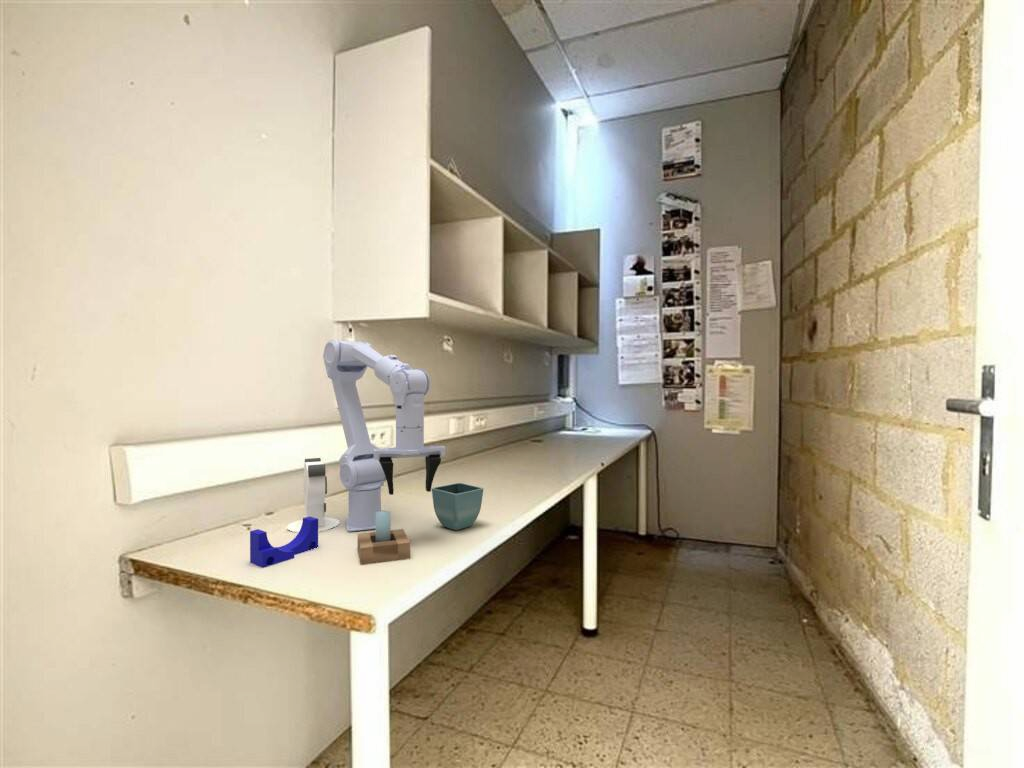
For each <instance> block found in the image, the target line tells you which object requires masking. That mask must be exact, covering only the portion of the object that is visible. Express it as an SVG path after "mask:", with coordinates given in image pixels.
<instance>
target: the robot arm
mask: <svg viewBox="0 0 1024 768" xmlns="http://www.w3.org/2000/svg"><path fill="white" fill-rule="evenodd" d="M322 359H323V362H324V363H323V364H324V367H325V371H326V375H327V378H329V379H330V380H331V383H332V387H333V392H334V396H335V399H336V405H337V407H338V414H339V417H340V420H341V425H342V429H343V433H344V438H345V440H346V441H345V442H346V446H347V449H346V450H345V452H344V453H343V454H342V455H341V456H340V458H339V460H338V461H339V480H340V481H341V484H342V485H343V486H344V487H345V489H346V490H348V492H347V493H348V496H347V497H348V498H347V499H348V502H347V503H348V517H347V518H346V519H345V524H346V531H347V532H356V531H368V530H376V512H378V511H382V487H384V483H385V482H386V484H387V488H388V494H389V495H390V496H391V495H393V496H394V492H395V491H394V462H393V459H401V458H402V459H404V458H421V457H422V458H423V457H425V458H424V460H425V491H426V492H428V493H429V492H430V493H432V486H433V481H434V478H435V475H436V472H437V470H438V468H439V466H440V464H441V462H442V457H445V456H446V446H444V445H425V439H424V438H425V421H424V420H425V411H424V410H425V396H426V395H427V394H428V393H429V391H430V390H429V389H430V388H431V387H430V385H431V380H430V377H429V376H430V375H428V373H427V372H426V371H425V370H424V369H423V368H416V369H413V368H412V367H411V365H410V364H409V363H405V362H402V361H400V360H399V359H398V356H397V355H395V354H389V355H385V356H383V354H380V353H379V352H378V351H376V349H374V348H373V345H372V343H368V342H367V341H349V340H336V339H329V340H327V343H326V344H325V346H324V350H323V355H322ZM368 368H370V369H372V370H373V372H374V376H375V377H376V378H377V379H378V380H380V381H381V382H382V383H384V384H385V385H387V386H389V389H390V391H391V394H392V398H393V399H392V403H393V404H394V405H395V447H385V448H379V447H378V446H376V445H375V444H373V443H372V442H371V438H370V436H369V431H368V427H367V423H366V420H365V419H366V418H365V415H364V412H363V407H362V405H361V399H360V396H359V392H358V388H357V385H356V383H357V381H358V380H361V379H362V378H363V376H364V375H365V373H366V371H367V369H368Z"/></svg>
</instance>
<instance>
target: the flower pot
mask: <svg viewBox="0 0 1024 768" xmlns="http://www.w3.org/2000/svg"><path fill="white" fill-rule="evenodd" d="M484 488H485V487H480V486H476V485H473V484H468V483H464V482H463V483H462V482H455V483H451V484H446V485H442V486H436V487H431V493H432V494H431V495H432V504H433V509H434V513H435V515H436V518H437V520H438V522H439V524H440V525H441V527H445V528H448V529H450V530H454V531H459V530H462V529H466V528H470V527H472V526H473V525H474V523H475V522H476V520H477V519H478V518H479V517H478V516H479V514H480V512H481V509H482V504H483V503H482V502H483V496H484Z"/></svg>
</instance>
